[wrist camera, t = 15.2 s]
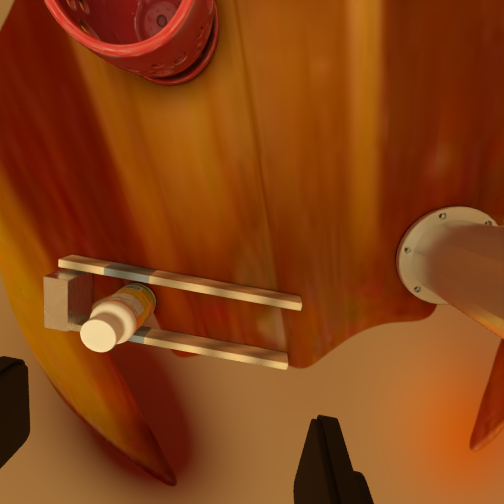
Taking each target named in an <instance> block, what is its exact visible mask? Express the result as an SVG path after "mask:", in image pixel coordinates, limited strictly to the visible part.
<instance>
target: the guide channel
mask: <svg viewBox="0 0 504 504" xmlns="http://www.w3.org/2000/svg"><path fill="white" fill-rule="evenodd" d="M59 267H63V269H61V270H58V271H56V272H53V273H51V274H49V275H46V276H44V322H45V328H51V329H56V330H61V331H67V332H68V331H69V330H73V331H79V332H80V331H81V328H82V326H83V325H84V323H85V322H87V321H88V320H89V319H90V316H89V315H91V313H92V283H93V273H96V274H102V275H107V276H113V277H118V278H124V279H129V280H135V281H140V282H146V283H151V284H157V285H162V286H168V287H173V288H178V289H184V290H189V291H195V292H200V293H206V294H211V295H217V296H222V297H228V298H233V299H239V300H244V301H250V302H255V303H261V304H266V305H272V306H277V307H283V308H288V309H294V310H299V311H301V307H302V301H301V297H300V296H297V295H292V294H286V293H281V292H275V291H270V290H264V289H259V288H253V287H248V286H242V285H237V284H231V283H226V282H220V281H215V280H209V279H204V278H198V277H193V276H187V275H182V274H176V273H171V272H165V271H160V270H154V269H149V268H143V267H138V266H132V265H127V264H121V263H115V262H110V261H104V260H99V259H93V258H88V257H82V256H77V255H69V256H67V257H64V258H61V259H59ZM128 341H133V342H138V343H144V344H149V345H155V346H160V347H165V348H171V349H176V350H182V351H187V352H192V353H198V354H203V355H209V356H215V357H220V358H225V359H230V360H236V361H241V362H247V363H252V364H258V365H263V366H268V367H274V368H279V369H285V370H287V367H288V358H287V353H286V352H280V351H275V350H269V349H264V348H258V347H253V346H247V345H242V344H237V343H231V342H226V341H220V340H215V339H209V338H204V337H199V336H193V335H188V334H182V333H177V332H171V331H166V330H160V329H155V328H150V327H144V326H140V327H139V329H138V330H137V331H136V332H135V333H134V334H133V335H132V336H131V337H130V338H129V339H128Z"/></svg>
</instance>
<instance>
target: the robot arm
mask: <svg viewBox="0 0 504 504" xmlns="http://www.w3.org/2000/svg"><path fill="white" fill-rule="evenodd" d="M439 215H440V216H439ZM405 248H406V250H404V249H405ZM396 268H397V272H398V276H399V278H400V280H401V282H402V283H403V285H404V286H405V287H406V288H407V289H408V290H409V291H410V292H411V293H412V294H414V295H415V296H417V297H418V298H420V299H421V300H424V301H427V302H429V303H434V304H451V305H453V306H454V307H455V308H457V309H458V310H460V311H461V312H463V313H464V314H466V315H468V316H469V317H471V318H472V319H474V320H475V321H477V322H478V323H480V324H481V325H483V326H484V327H486V328H487V329H489V330H490V331H492V332H493V333H495V334H496V335H498V336H499V337H501V338H502V339H504V227H499V226H498V225H497V223H496V222H495V221H494V220H493V219H492V218H491V217H490V216H489V215H487V214H485V213H484V212H482V211H480V210H477V209H473V208H470V207H461V206H450V207H444V208H439V209H437V210H434V211H432V212H429V213H427V214H426V215H424V216H422V217H421V218H419V219H418V220H417V221H416V222H415V223H413V224H412V225H411V227H410V228H409V229H408V230H407V231H406V233H405V234H404V236H403V238H402V239H401V241H400V244H399V247H398V249H397V256H396ZM29 433H30V412H29V385H28V367H27V366H26V365H25V362H24V361H23V360H21V359H16V358H11V357H6V356H2V357H0V468H1V467H2V466H3V465H4V464H5V463H6V462H7V461H8V460H9V459H10V458H11V457H12V456H13V455H14V453H15V452H16V451H17V450H18V449H19V448H20V447H21V446H22V445H23V444H24V443H25V441H26V440H27V438H28V436H29ZM294 504H374V503H373V500H372V497H371V494H370V491H369V488H368V485H367V482H366V480H365V477H364V476H363V474H362V473H360V472H357V471H353V468H352V465H351V461H350V458H349V455H348V452H347V448H346V445H345V442H344V438H343V435H342V431H341V428H340V425H339V422H338V419H337V418H333V417H328V416H323V415H318V417H317V419H312V420H311V423H310V426H309V430H308V433H307V437H306V441H305V444H304V448H303V452H302V455H301V459H300V462H299V466H298V470H297V473H296V477H295V481H294Z"/></svg>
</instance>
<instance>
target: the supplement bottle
mask: <svg viewBox="0 0 504 504" xmlns="http://www.w3.org/2000/svg"><path fill="white" fill-rule="evenodd" d="M155 306H156V298H155V295H154V294H153V292H152V291H151V290H150V289H149V288H148V287H147V286H145V285H143V284H140V283H131V284H128V285H126V286H124V287H123V288H121V289H120V290H119V291H117V292H116V293H115V294H113V295H112V296H111V297H109V298H108V299H106V300H105V301H104V302H102V303H101V304H99V305H98V306H97V307H96V308H95V309H94V310H93V312H92V313H91V316H90V319H89V320H88V321H87V322H85V323H84V325H83V326H82V328H81V331H80V335H81V339H82V341H83V343H84V344H85V345H86V346H87V347H88V348H89V349H91V350H93V351H96V352H105V351H108V350H110V349H112V348H113V347H114V346H115V345H116V344H120V343H122V342H125V341H127V340H128V339H129V338H130V337H131V336H132V335H133V334H134V333H135V332H136V331H137V330H138V329H139V327H140V326H141V325H142V324H143V323H144V322H145V321H146V319H147V318H148V317H149V316H150V315H151V314H152V313H153V311H154V309H155Z"/></svg>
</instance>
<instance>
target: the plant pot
mask: <svg viewBox="0 0 504 504" xmlns="http://www.w3.org/2000/svg"><path fill="white" fill-rule="evenodd" d="M68 1H69V4H70V6H69V5H68V3H67V1H66V0H44V2H45V3H46V5H47V7H48V9H49V10H50V12H51V13H52V15H53V16H54V18H55V19H56V20H57V22H58V23H59V24H60V25H61V26H62V28H63V29H64V30H65V31H66V32H67V33H68V34H69V35H70V36H71V37H73V38H74V39H75V40H76V41H77V42H79V43H80V44H82V45H83V46H84V47H86V48H87V49H89V50H90V51H91V52H93V53H94V54H96V55H97V56H99V57H101V58H102V59H104V60H106V61H107V62H109V63H111V64H113V65H115V66H116V67H119V68H121V69H123V70H126V71H129V72H131V73H134V74H137V75H141V76H143V77H144V78H146V79H148V80H150V81H152V82H155V83H158V84H163V85H175V84H180V83H183V82H186V81H188V80H190V79H192V78H194V77H195V76H196V75H198V74H199V73H200V72H201V71H202V70H203V69H204V68H205V66H206V65H207V64H208V62H209V60H210V59H211V57H212V55H213V52H214V50H215V47H216V43H217V39H218V31H219V17H218V10H217V5H216V1H215V0H68ZM79 1H80V2H81V4H82V6H83V8H84V11H83V10H82V8H81V6H80V3H79ZM70 7H71V8H70ZM80 25H82V26H83V27H84V28H85V29H86V30H87V31H88V33H89V34H90V35H91V36H90V35H89V34H87V33H86V32H85V31H83V29H82V28H81V26H80Z"/></svg>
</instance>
